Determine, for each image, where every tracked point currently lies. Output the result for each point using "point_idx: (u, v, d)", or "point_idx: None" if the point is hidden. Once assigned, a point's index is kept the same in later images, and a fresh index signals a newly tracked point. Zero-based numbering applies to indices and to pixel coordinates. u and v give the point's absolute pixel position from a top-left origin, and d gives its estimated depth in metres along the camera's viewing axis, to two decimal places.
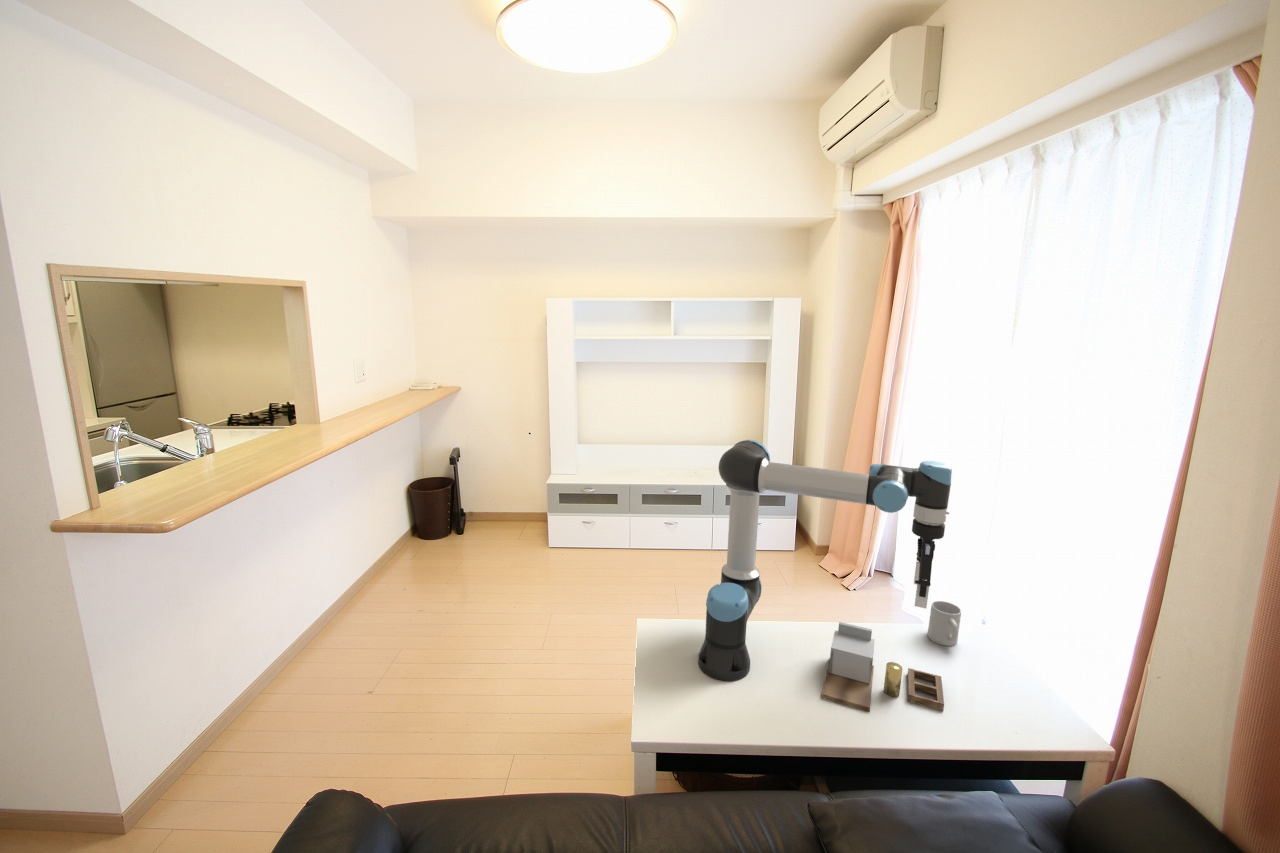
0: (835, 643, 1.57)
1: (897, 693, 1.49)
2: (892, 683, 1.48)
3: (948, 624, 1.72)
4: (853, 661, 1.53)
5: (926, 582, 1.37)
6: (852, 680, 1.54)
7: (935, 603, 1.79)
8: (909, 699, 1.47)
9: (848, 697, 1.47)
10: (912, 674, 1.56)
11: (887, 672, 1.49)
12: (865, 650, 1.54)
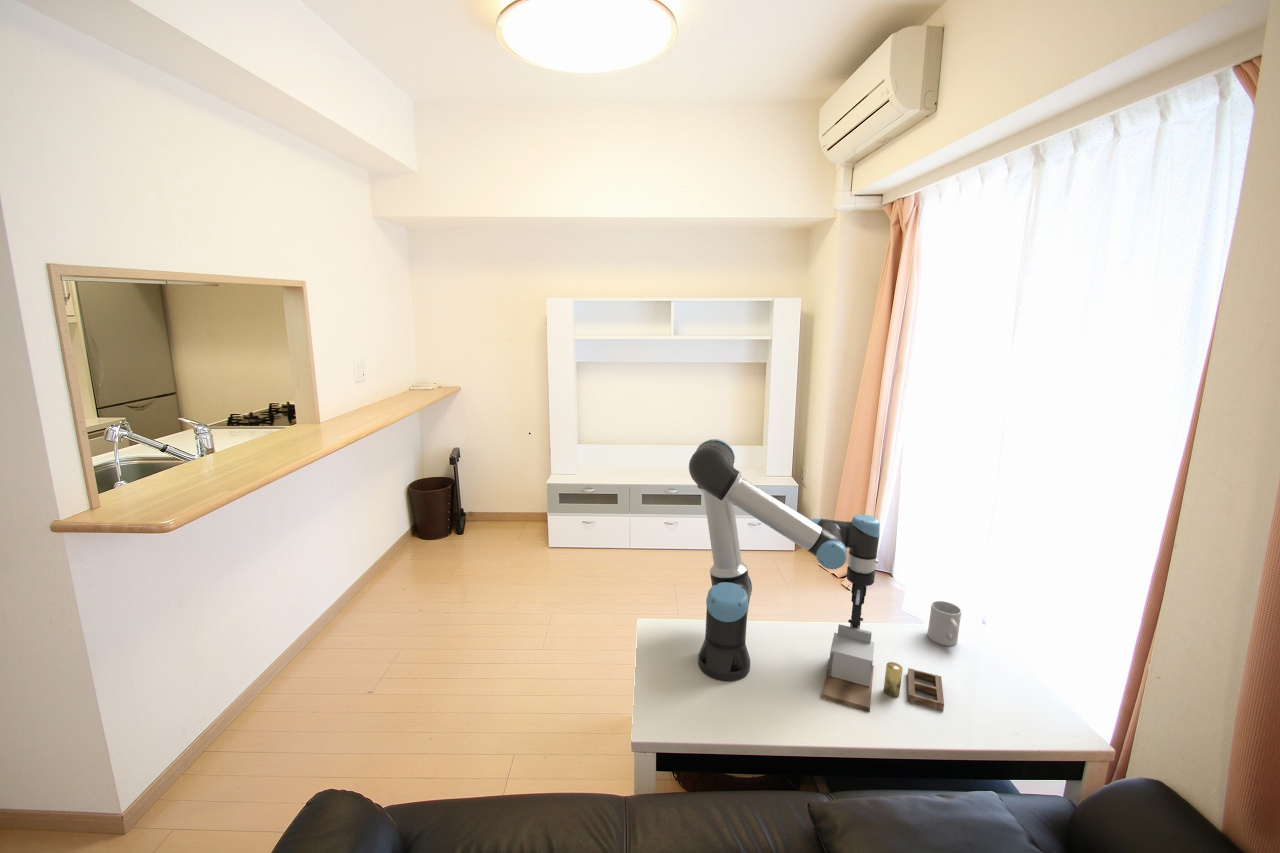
0: (834, 646, 1.56)
1: (897, 693, 1.49)
2: (892, 683, 1.48)
3: (948, 624, 1.72)
4: (853, 663, 1.52)
5: (856, 623, 1.59)
6: None
7: (935, 603, 1.79)
8: (909, 699, 1.47)
9: (848, 697, 1.47)
10: (912, 674, 1.56)
11: (887, 672, 1.49)
12: (865, 653, 1.53)
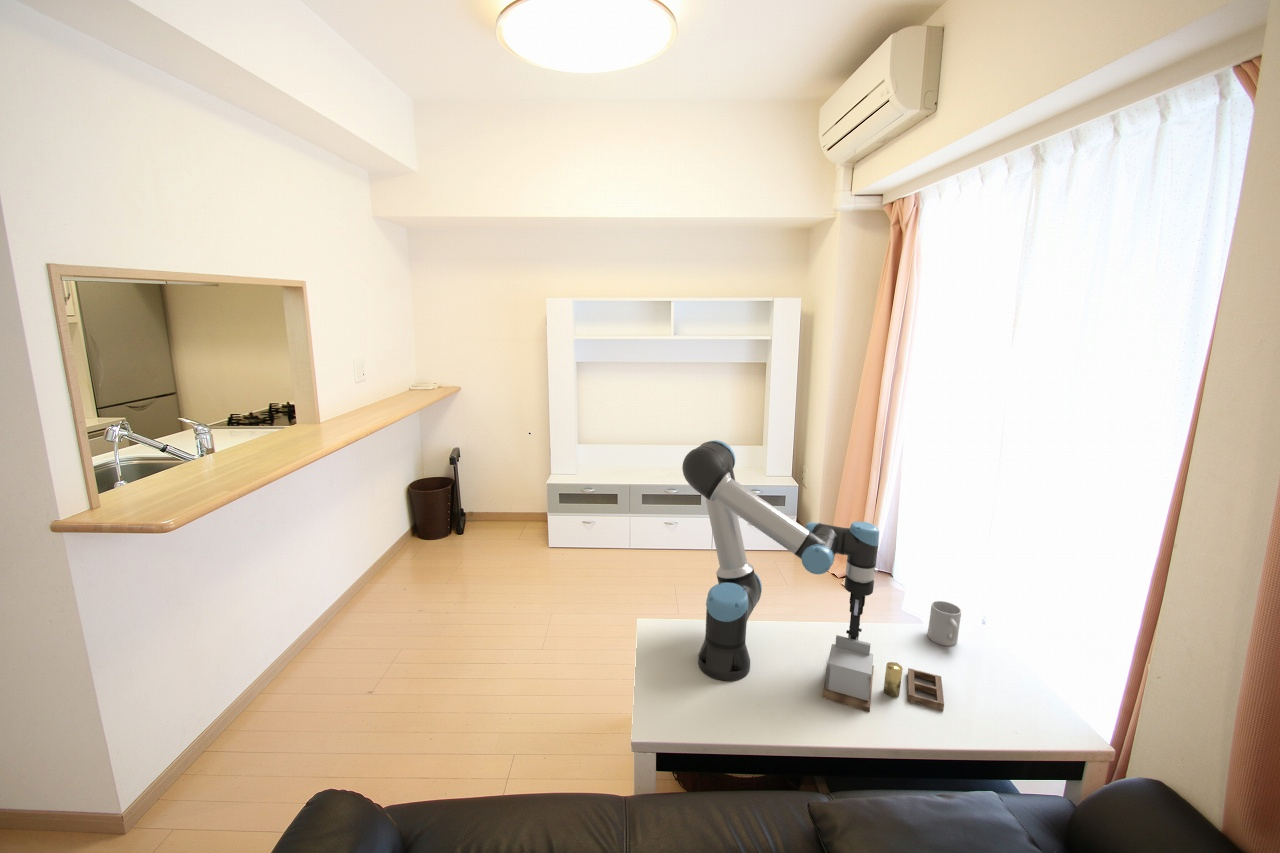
0: (832, 658, 1.50)
1: (897, 693, 1.49)
2: (892, 683, 1.48)
3: (948, 624, 1.72)
4: (851, 677, 1.46)
5: (855, 634, 1.53)
6: None
7: (935, 603, 1.79)
8: (909, 699, 1.47)
9: (848, 697, 1.47)
10: (912, 674, 1.56)
11: (887, 672, 1.49)
12: (863, 665, 1.47)
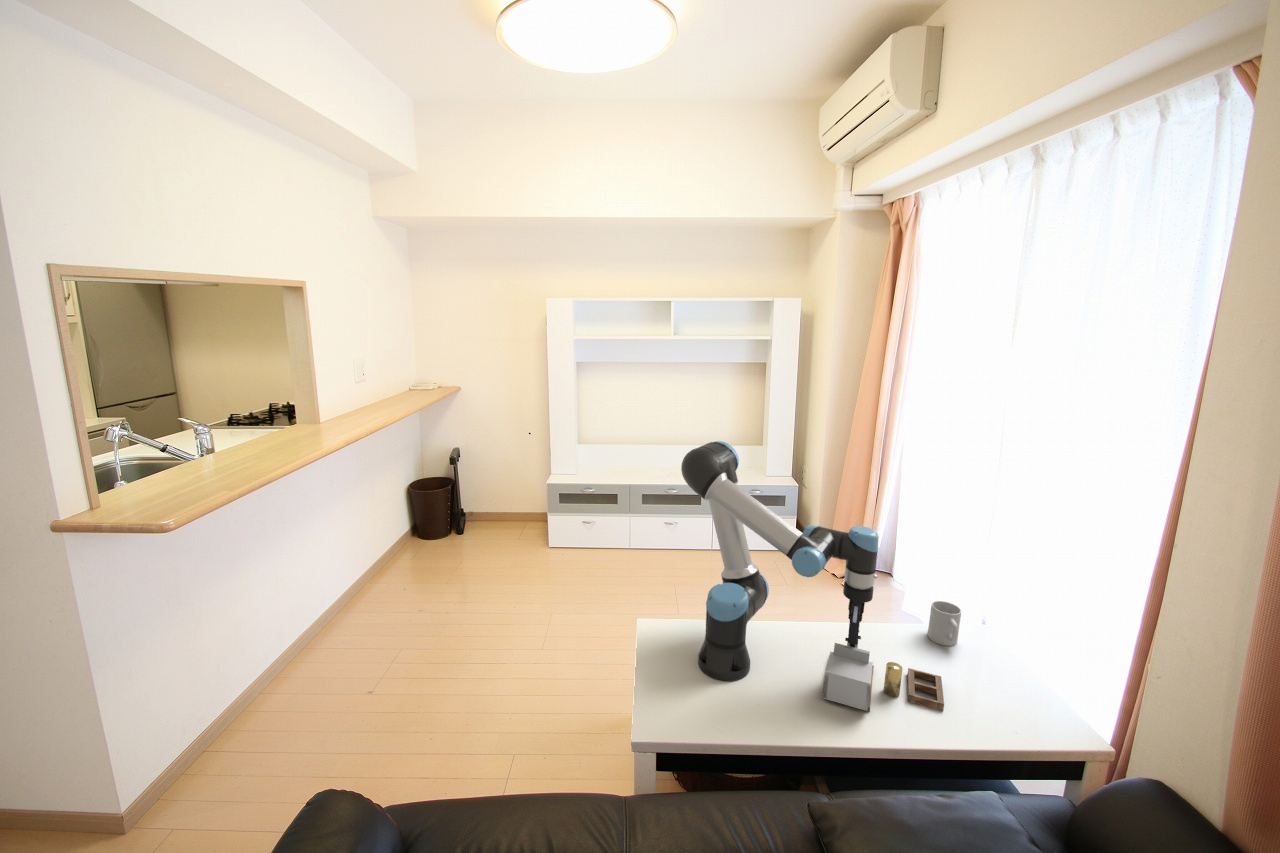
0: (830, 667, 1.46)
1: (897, 693, 1.49)
2: (892, 683, 1.48)
3: (948, 624, 1.72)
4: (849, 686, 1.42)
5: (854, 642, 1.49)
6: None
7: (935, 603, 1.79)
8: (909, 699, 1.47)
9: None
10: (912, 674, 1.56)
11: (887, 672, 1.49)
12: (862, 674, 1.43)
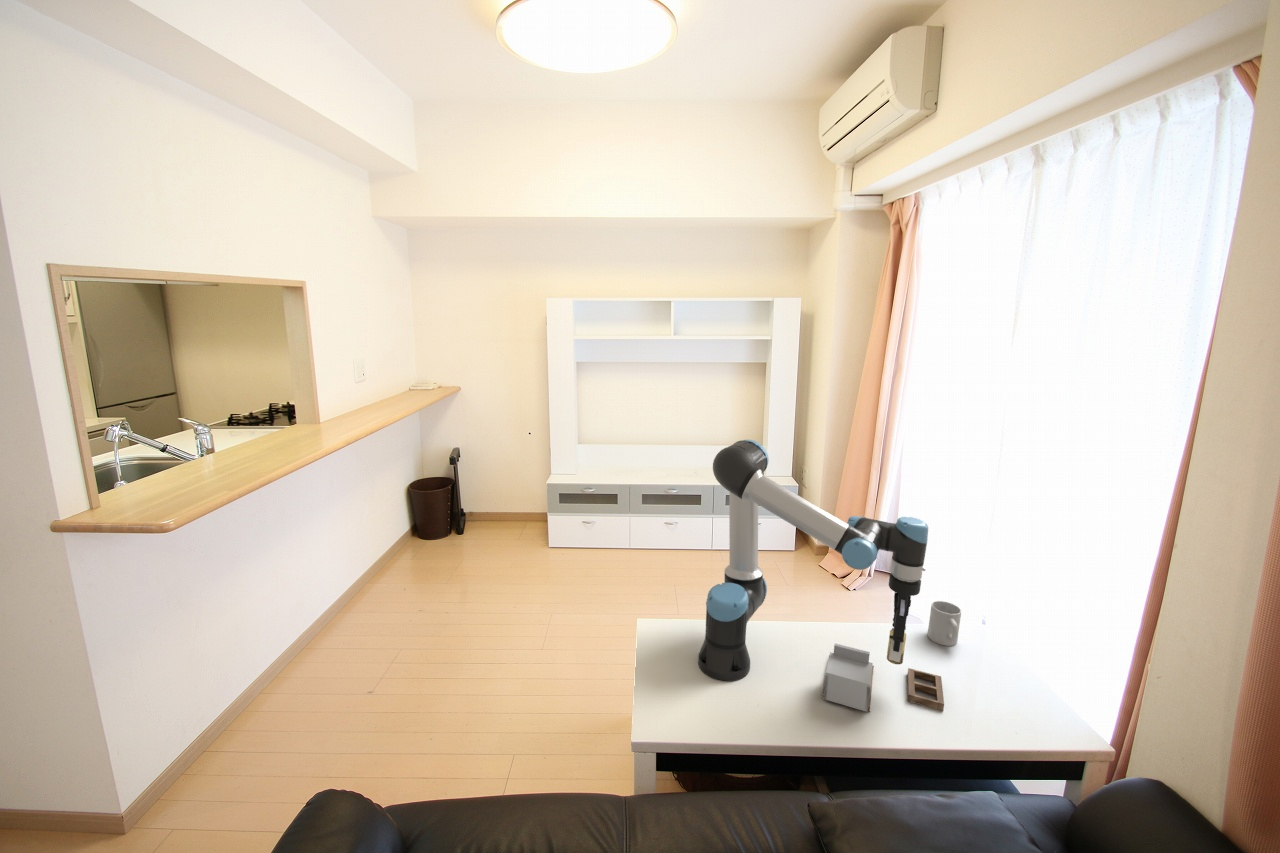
0: (830, 667, 1.46)
1: (900, 660, 1.47)
2: None
3: (948, 624, 1.72)
4: (849, 687, 1.42)
5: (899, 639, 1.42)
6: None
7: (935, 603, 1.79)
8: (909, 699, 1.47)
9: None
10: (912, 674, 1.56)
11: None
12: (862, 675, 1.43)
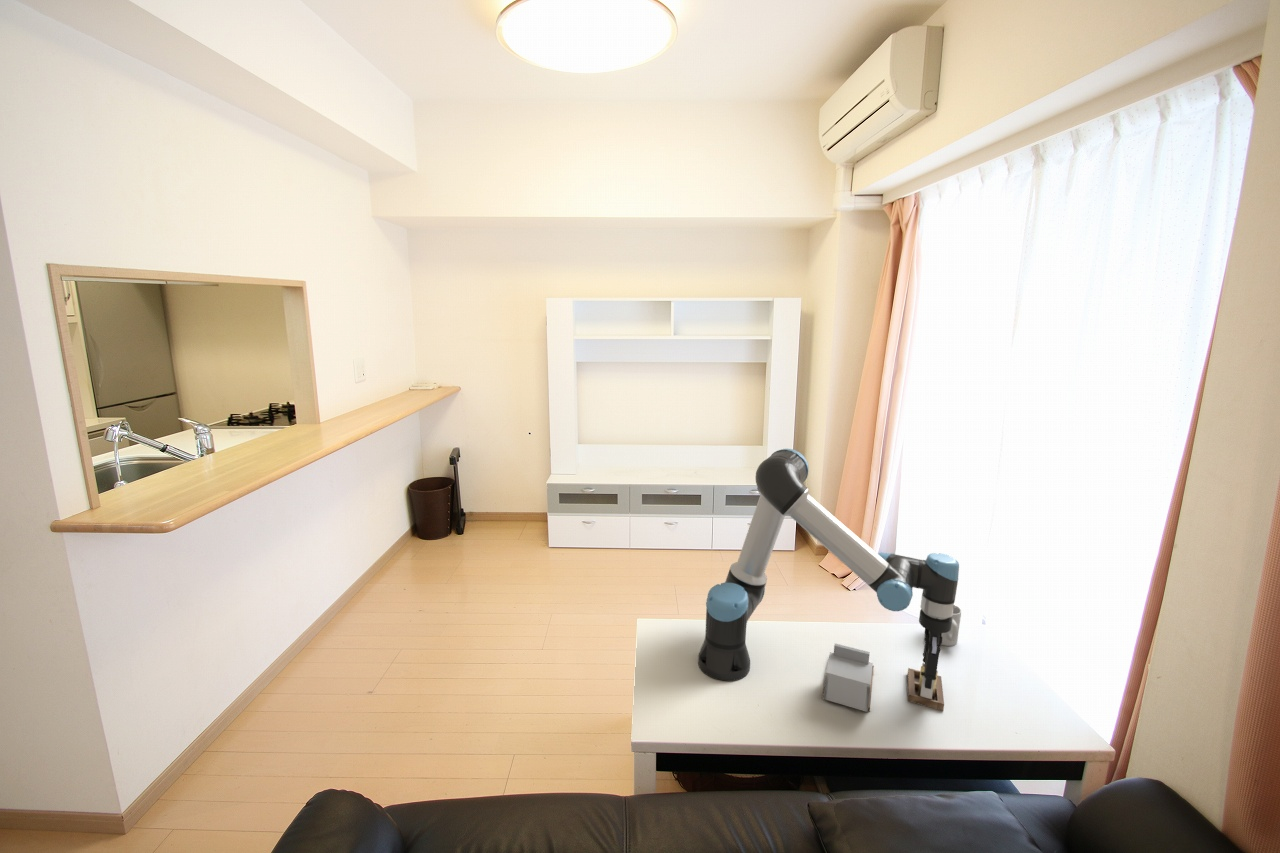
0: (830, 667, 1.46)
1: (932, 697, 1.47)
2: None
3: None
4: (849, 687, 1.42)
5: (931, 677, 1.42)
6: None
7: None
8: (909, 699, 1.47)
9: None
10: (912, 674, 1.56)
11: (922, 675, 1.47)
12: (862, 675, 1.43)
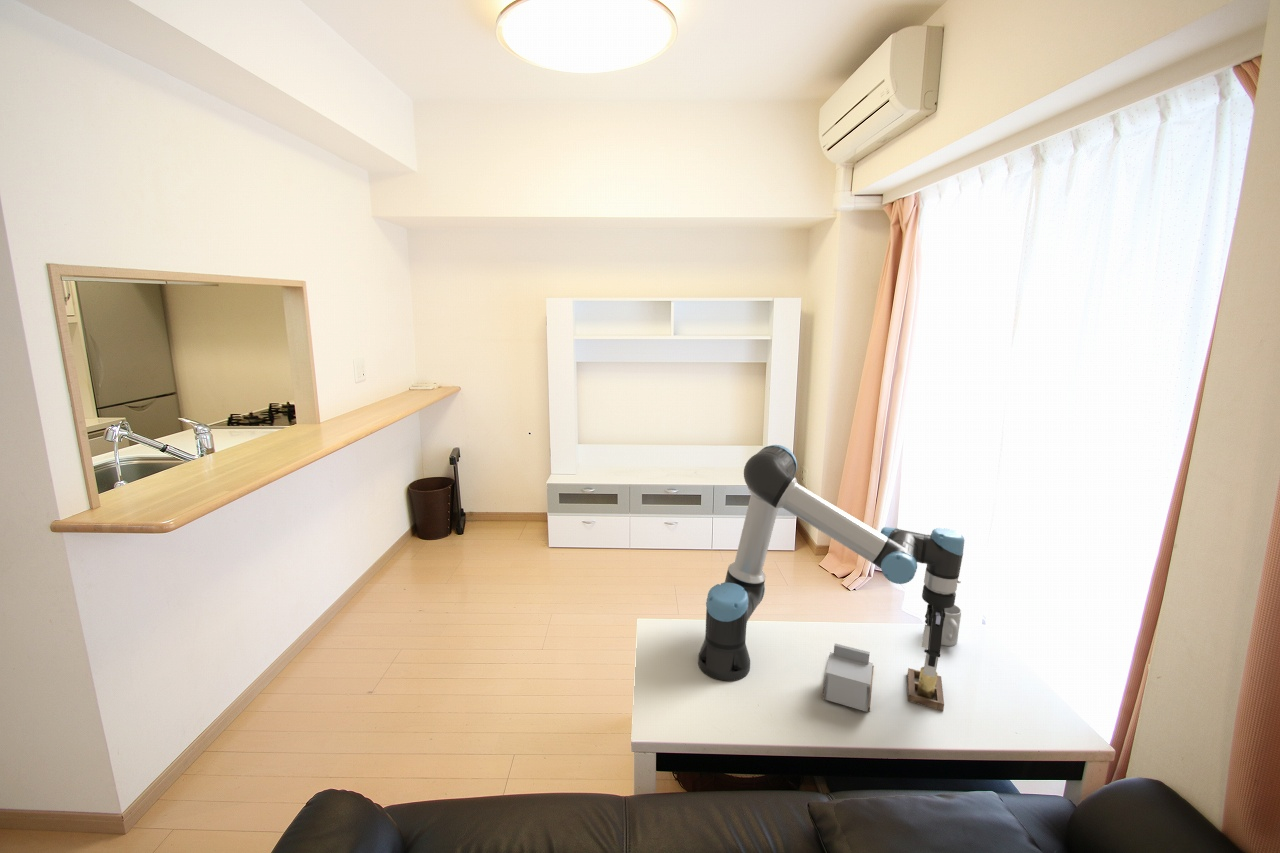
0: (830, 667, 1.46)
1: (931, 698, 1.47)
2: (927, 688, 1.46)
3: (948, 624, 1.72)
4: (849, 687, 1.42)
5: (936, 653, 1.36)
6: None
7: None
8: (909, 699, 1.47)
9: None
10: (912, 674, 1.56)
11: (921, 677, 1.47)
12: (862, 675, 1.43)
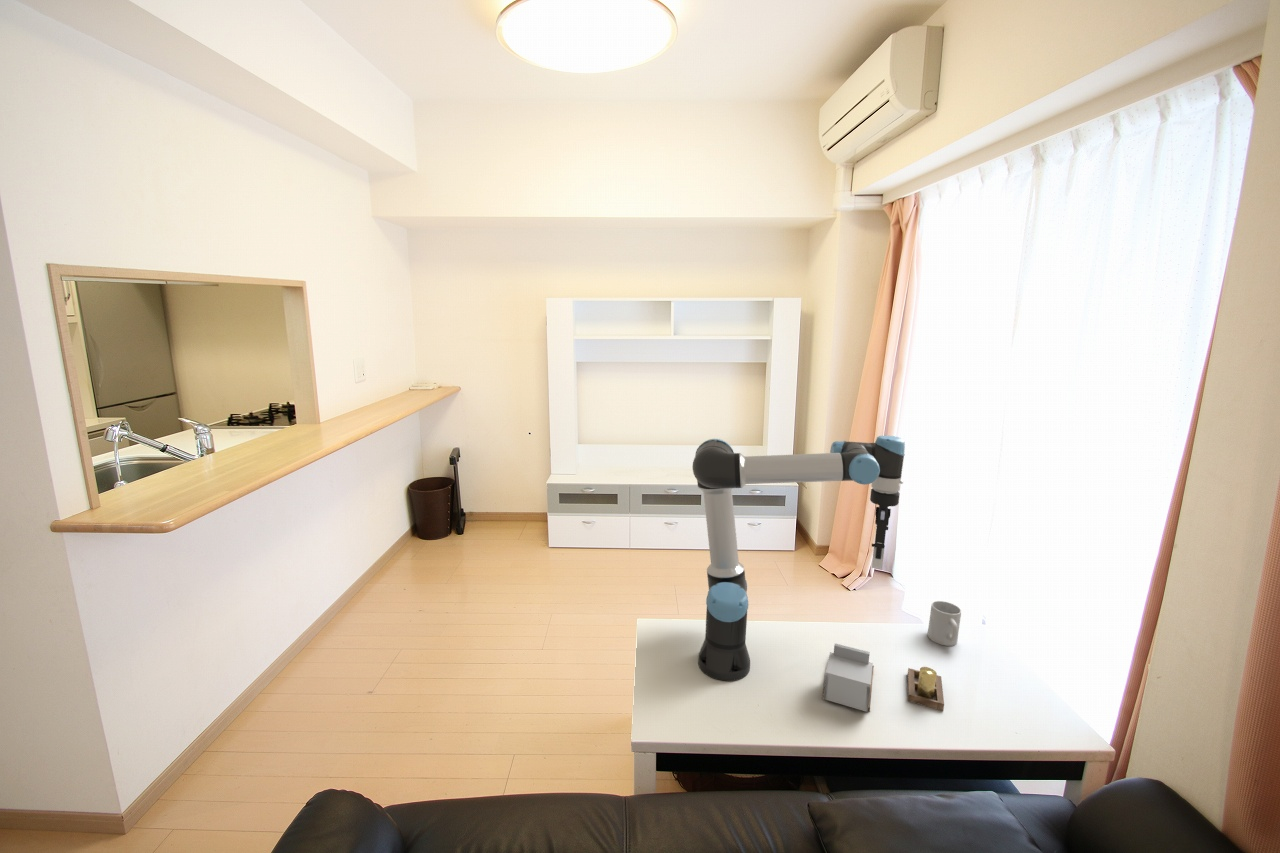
0: (830, 667, 1.46)
1: (931, 698, 1.47)
2: (926, 688, 1.46)
3: (948, 624, 1.72)
4: (849, 687, 1.42)
5: (881, 544, 1.51)
6: None
7: (935, 603, 1.79)
8: (909, 699, 1.47)
9: None
10: (912, 674, 1.56)
11: (921, 677, 1.47)
12: (862, 675, 1.43)
